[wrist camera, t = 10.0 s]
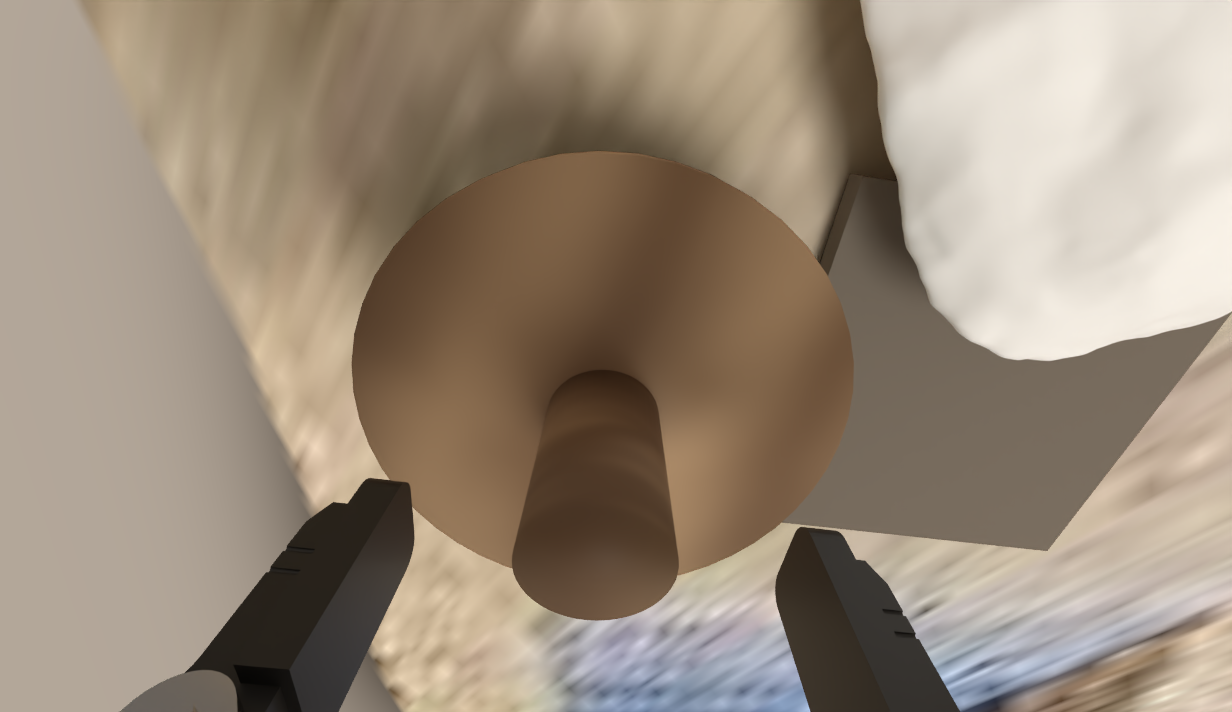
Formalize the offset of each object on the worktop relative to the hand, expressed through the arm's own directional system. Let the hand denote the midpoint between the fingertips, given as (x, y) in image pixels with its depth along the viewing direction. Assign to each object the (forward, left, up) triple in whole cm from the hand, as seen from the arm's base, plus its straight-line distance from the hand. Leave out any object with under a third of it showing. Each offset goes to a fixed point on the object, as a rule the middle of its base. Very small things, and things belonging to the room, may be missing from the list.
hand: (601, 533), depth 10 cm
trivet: (-16, +1, -11) cm, 19 cm away
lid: (0, 0, -5) cm, 5 cm away
